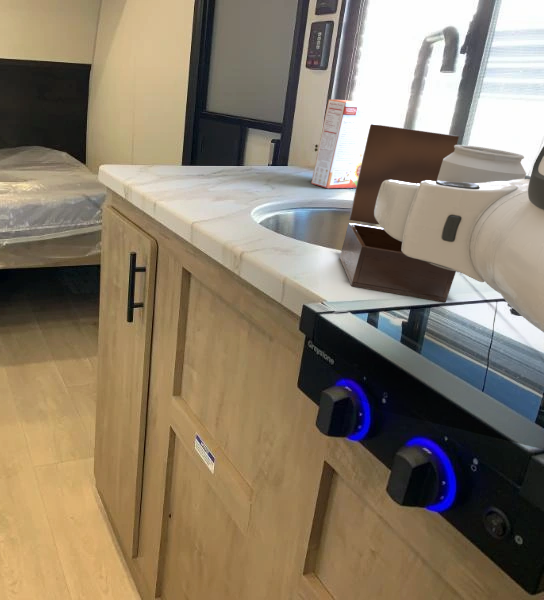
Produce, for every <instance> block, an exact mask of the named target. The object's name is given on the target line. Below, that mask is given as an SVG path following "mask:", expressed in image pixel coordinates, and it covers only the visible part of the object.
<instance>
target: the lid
mask: <svg viewBox="0 0 544 600" xmlns="http://www.w3.org/2000/svg"><path fill="white" fill-rule="evenodd" d="M459 139H460V136H459V135H455V134H454V135H453V134H445V133H438V132H431V131H424V130H419V129H418V130H417V129H410V128H403V127H396V126H390V125H389V126H388V125H381V124H378V125H375V124H371V125H370V129H369V133H368V137H367V142H366V146H365V151H364V155H363V160H362V164H361V169H360V173H359V177H358V182H357V186H356V188H355V191H354V196H353V201H352V204H351V209H350V213H349V219H348V220H349V221H353V222H360V223H366V224H374V225H378V226H380V224H379V223H378V222H377V220H376V219H375V216H374V210H375V205H376V200H377V196H378V193H379V190H380V187H381V184H382V182H383V181H385V180H396V181H402V182H408V183H415V184H420V183H421V182H422V181H425V180H429V181H437V178H438V175H439V171H440V168H441V165H442V162H443V159H444V158H445V157H447V156H448V155H450V154H451V153H453V152H454V151H455V148H454V146H455V145H458V142H459Z"/></svg>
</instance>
